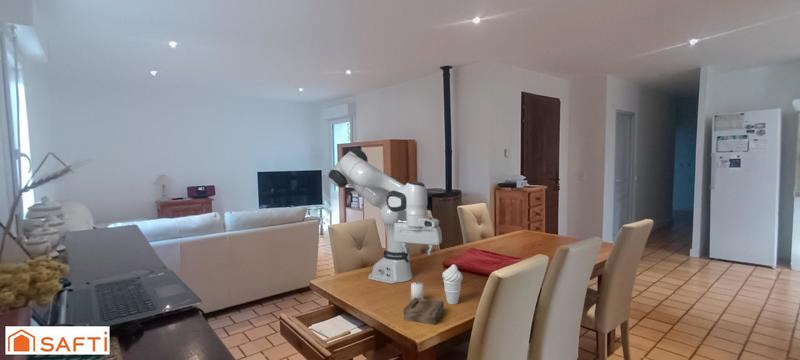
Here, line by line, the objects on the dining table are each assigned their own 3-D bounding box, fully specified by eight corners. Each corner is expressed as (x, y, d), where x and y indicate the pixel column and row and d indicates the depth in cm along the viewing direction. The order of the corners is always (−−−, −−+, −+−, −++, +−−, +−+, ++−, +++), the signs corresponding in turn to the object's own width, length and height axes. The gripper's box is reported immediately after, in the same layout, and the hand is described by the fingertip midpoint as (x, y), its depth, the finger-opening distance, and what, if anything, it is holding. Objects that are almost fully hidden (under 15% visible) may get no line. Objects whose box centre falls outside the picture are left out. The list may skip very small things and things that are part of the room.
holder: (403, 319, 136) (403, 309, 135) (414, 307, 147) (414, 297, 146) (435, 324, 131) (434, 313, 131) (443, 311, 142) (443, 301, 142)
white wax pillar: (409, 303, 151) (409, 283, 151) (413, 298, 156) (413, 279, 155) (421, 304, 149) (420, 284, 149) (424, 300, 154) (424, 280, 154)
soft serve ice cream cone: (449, 307, 146) (448, 268, 145) (438, 300, 153) (438, 263, 152) (466, 304, 149) (466, 265, 148) (455, 297, 157) (455, 260, 156)
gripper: (391, 221, 152) (391, 253, 153) (438, 223, 144) (438, 257, 145) (397, 218, 158) (397, 250, 159) (442, 220, 150) (443, 254, 151)
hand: (417, 254), depth 152 cm, fingers open, 8 cm apart
